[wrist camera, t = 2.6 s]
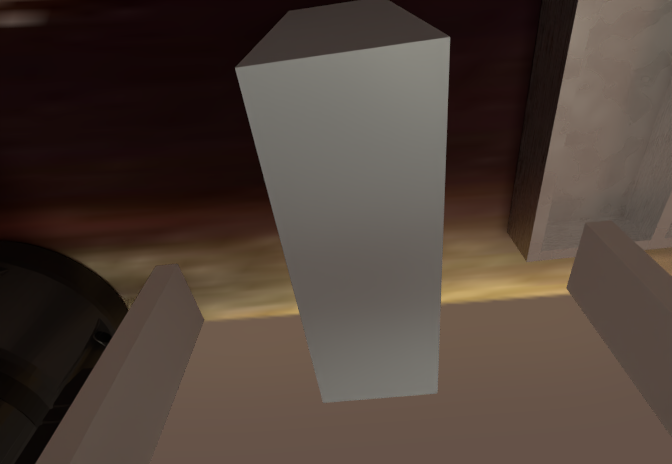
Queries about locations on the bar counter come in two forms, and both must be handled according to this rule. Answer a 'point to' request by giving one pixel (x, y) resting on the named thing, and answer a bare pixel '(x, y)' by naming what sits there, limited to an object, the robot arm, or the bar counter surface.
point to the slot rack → (596, 127)
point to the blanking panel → (357, 186)
